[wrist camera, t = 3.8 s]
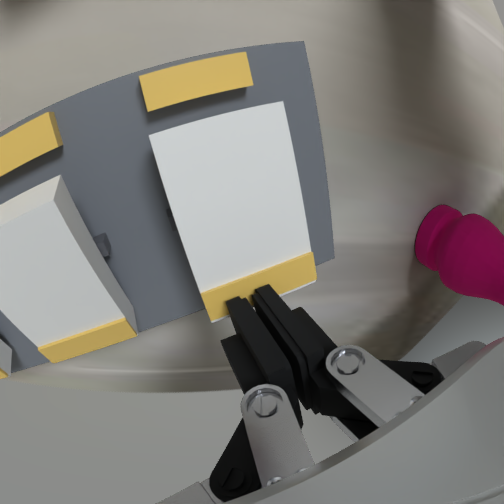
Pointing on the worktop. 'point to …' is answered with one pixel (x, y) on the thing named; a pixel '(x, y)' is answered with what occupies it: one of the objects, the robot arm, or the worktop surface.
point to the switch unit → (146, 170)
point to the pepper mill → (463, 252)
